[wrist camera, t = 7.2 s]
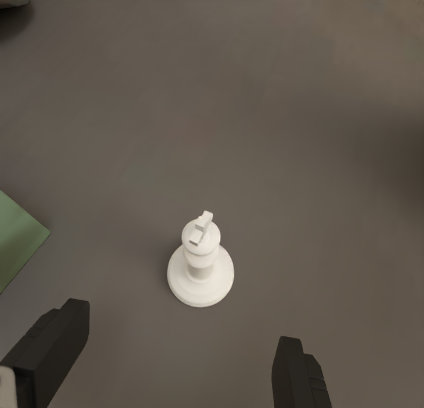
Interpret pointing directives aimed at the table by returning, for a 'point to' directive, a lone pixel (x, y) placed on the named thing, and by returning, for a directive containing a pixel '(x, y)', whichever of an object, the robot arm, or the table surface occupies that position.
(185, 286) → the chess piece
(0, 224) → the shelf
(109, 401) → the table surface
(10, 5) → the lucky cat figurine
